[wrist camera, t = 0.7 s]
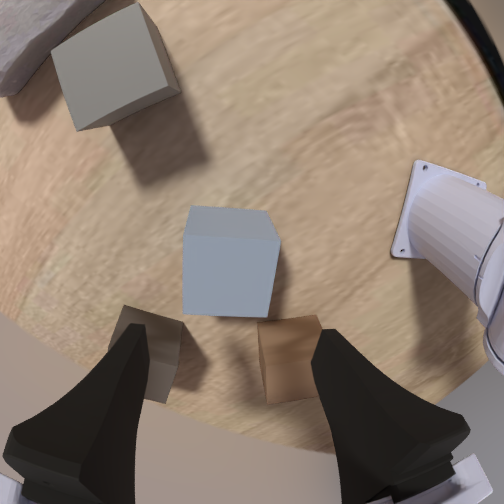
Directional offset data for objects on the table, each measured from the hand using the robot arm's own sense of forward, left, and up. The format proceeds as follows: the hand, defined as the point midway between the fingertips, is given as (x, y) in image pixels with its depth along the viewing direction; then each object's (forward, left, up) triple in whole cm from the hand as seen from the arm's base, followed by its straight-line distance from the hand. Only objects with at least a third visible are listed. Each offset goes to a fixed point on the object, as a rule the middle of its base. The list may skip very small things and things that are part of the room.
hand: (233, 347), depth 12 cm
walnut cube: (-6, +9, -10) cm, 15 cm away
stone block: (+16, -18, -11) cm, 26 cm away
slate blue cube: (0, 0, -10) cm, 10 cm away
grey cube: (+7, -11, -10) cm, 17 cm away
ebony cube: (+6, +9, -10) cm, 15 cm away
